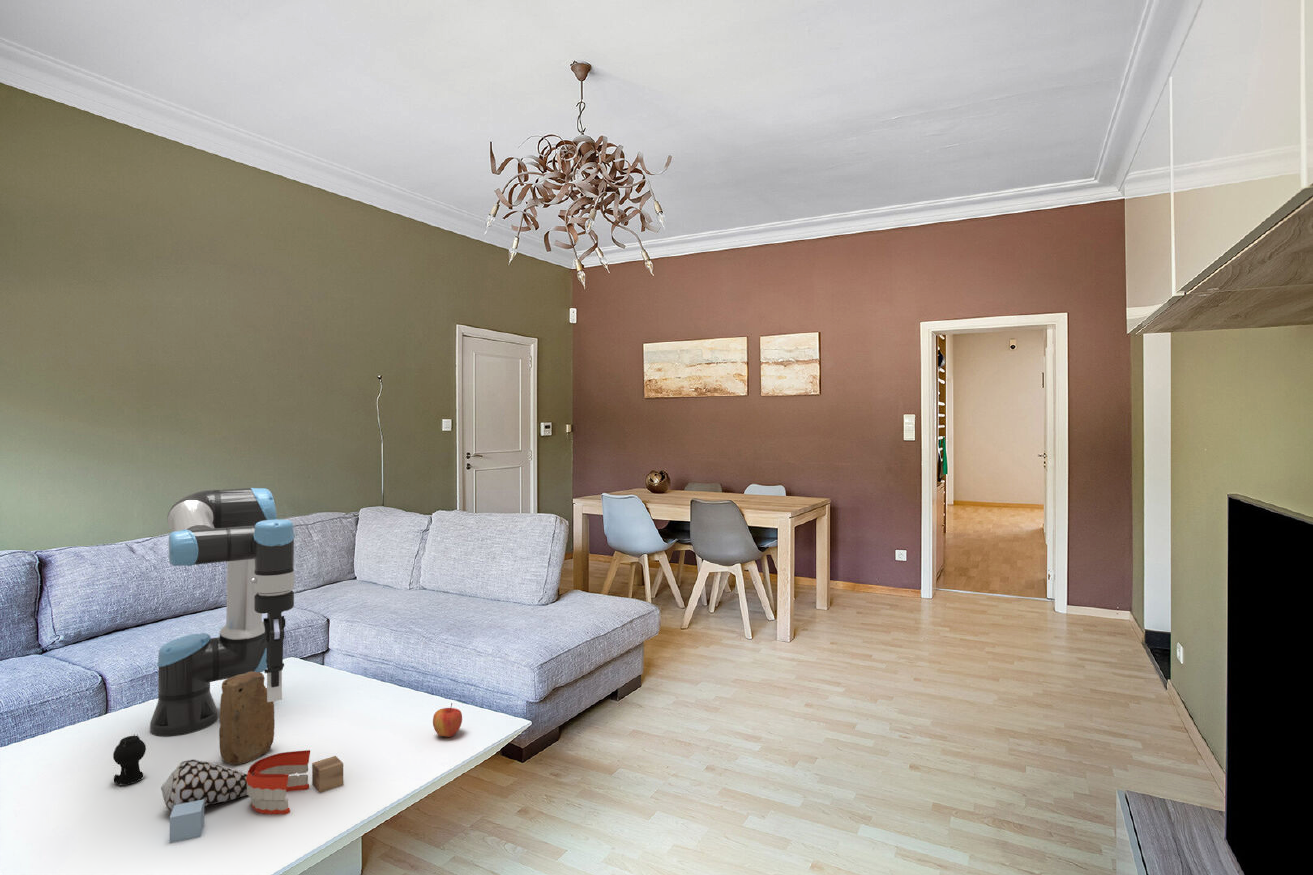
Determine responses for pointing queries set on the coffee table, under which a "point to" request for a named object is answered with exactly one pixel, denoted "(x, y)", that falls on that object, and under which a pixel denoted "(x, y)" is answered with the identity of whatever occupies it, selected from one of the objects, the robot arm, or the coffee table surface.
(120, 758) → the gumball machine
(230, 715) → the brown rock
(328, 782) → the walnut block
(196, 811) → the slate block
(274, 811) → the toy
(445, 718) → the apple
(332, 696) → the coffee table surface
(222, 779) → the seashell
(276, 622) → the robot arm
